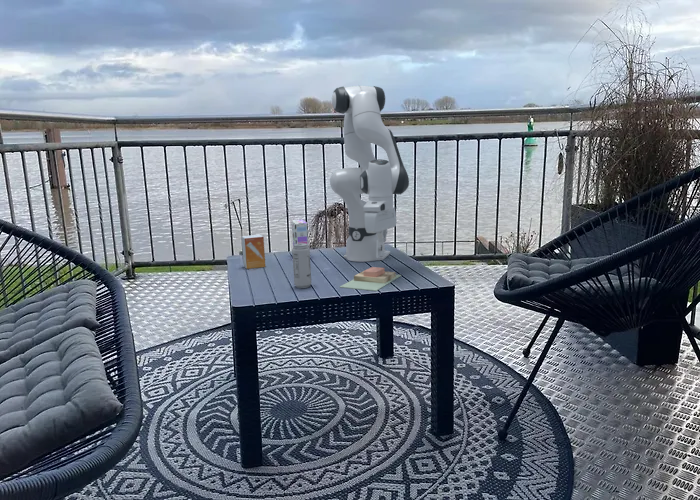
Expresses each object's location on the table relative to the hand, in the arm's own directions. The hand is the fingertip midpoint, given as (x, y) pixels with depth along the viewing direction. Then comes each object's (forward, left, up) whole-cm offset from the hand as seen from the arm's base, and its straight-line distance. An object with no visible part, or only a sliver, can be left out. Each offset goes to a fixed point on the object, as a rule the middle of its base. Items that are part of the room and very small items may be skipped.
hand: (382, 242), depth 191 cm
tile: (+7, 0, -11) cm, 13 cm away
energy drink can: (+23, -20, -13) cm, 34 cm away
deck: (+6, 0, -13) cm, 14 cm away
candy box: (-19, -48, -13) cm, 53 cm away
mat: (+9, 0, -13) cm, 16 cm away
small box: (+3, -57, -13) cm, 59 cm away
